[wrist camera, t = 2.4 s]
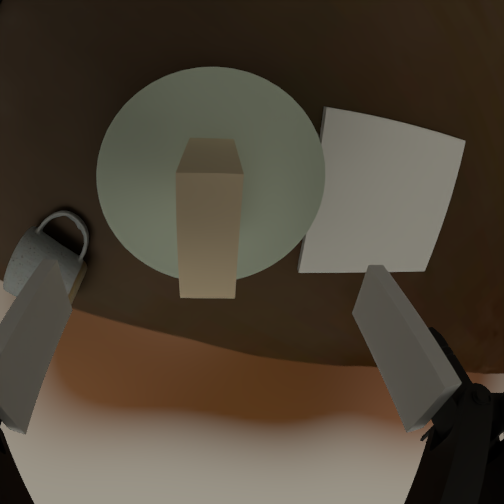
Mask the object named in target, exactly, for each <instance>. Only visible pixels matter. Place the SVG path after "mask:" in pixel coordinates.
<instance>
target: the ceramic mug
mask: <svg viewBox="0 0 504 504" xmlns="http://www.w3.org/2000/svg"><path fill="white" fill-rule="evenodd" d="M60 216H67V217H69V218H70V219H71V220H73V221H74V222H75V223H76V225H77V227H78V229H80V230H81V231H82V234H83V235H84V246H83V249H82V252H81V254H80V255H79V256H78V255H77V254H75V253H74V252H72V251H71V250H69V249H67V248H66V247H64V246H62V245H61V244H60V243H58V242H57V241H56V240H54V239H53V238H51V237H50V236H48V235H47V234H45V233H44V232H43V231H42V230H43V228H44V227H45V225H46V224H47V223H48V222H49V221H50V220H51V219H52V218H56V217H60ZM88 243H89V232H88V229H87V226H86V225H85V223H84V221H83V220H82V219H81V218H80V217H79V216H78V215H76V214H75V213H73V212H70V211H58V212H55V213H53V214H51V215H50V216H48V217H47V218H46V219H45V220H44V221H43V222H42V223H41V224H40V226H39V227H38V228H37V227H35V226H32V227H31V228H29V229H28V230H27V231H26V232H25V234H24V235H23V237H22V238H21V239H20V241H19V243H18V245H17V246H16V248H15V250H14V252H13V254H12V257H11V259H10V262H9V264H8V267H7V269H6V273H5V276H4V283H3V287H4V290H5V291H7V292H9V293H11V294H12V295H14V296H16V297H17V296H18V295H19V293H20V291H21V290H22V288H23V287H24V286H25V284H26V283H27V281H28V280H29V278H30V277H31V275H32V274H33V272H34V271H35V270H36V268H37V267H38V265H39V264H40V263H41V261H42V260H43V259H50V260H58V264H59V268H60V271H61V275H62V278H63V282H64V285H65V289H66V292H67V295H68V298H69V301H70V304H71V305H72V303H73V300H74V298H75V296H76V294H77V291H78V289H79V287H80V285H81V282H82V280H83V278H84V276H85V274H86V271H87V265H86V262H85V261H84V260H83V257H84V255H85V253H86V251H87V247H88Z"/></svg>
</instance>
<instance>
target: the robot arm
mask: <svg viewBox="0 0 504 504" xmlns="http://www.w3.org/2000/svg"><path fill="white" fill-rule="evenodd" d="M0 1H1V0H0ZM71 312H72V307H71V304H70V301H69V298H68V295H67V292H66V289H65V285H64V282H63V278H62V275H61V271H60V268H59V264H58V260H50V259H43V260H42V261H41V263H40V264H39V265H38V267H37V268H36V270H35V271H34V272H33V274H32V275H31V277H30V278H29V280H28V281H27V283H26V284H25V286H24V287H23V288H22V290H21V291H20V293H19V295H18V296H17V298H16V299H15V301H14V302H13V304H12V306H11V307H10V309H9V310H8V312H7V313H6V315H5V317H4V318H3V320H2V322H1V324H0V425H1V422H3V423H4V424H5V425H6V426H7V427H8V428H9V429H10V430H13V431H17V432H19V433H22V434H26V432H27V428H28V425H29V421H30V418H31V415H32V412H33V409H34V406H35V403H36V400H37V397H38V394H39V391H40V388H41V385H42V382H43V380H44V377H45V374H46V372H47V369H48V366H49V364H50V361H51V359H52V356H53V354H54V351H55V349H56V346H57V344H58V342H59V339H60V337H61V335H62V332H63V330H64V328H65V325H66V323H67V321H68V319H69V317H70V314H71ZM352 314H353V316H354V318H355V320H356V322H357V324H358V326H359V328H360V330H361V332H362V335H363V337H364V339H365V341H366V343H367V345H368V347H369V349H370V351H371V353H372V355H373V358H374V360H375V362H376V364H377V366H378V368H379V371H380V373H381V375H382V377H383V379H384V381H385V384H386V386H387V388H388V390H389V393H390V395H391V397H392V399H393V402H394V404H395V406H396V409H397V411H398V413H399V415H400V418H401V420H402V423H403V425H404V427H405V430H406V432H410V431H414V430H417V429H420V428H423V427H424V426H425V425H426V424H427V423H428V422H429V421H430V420H432V422H433V424H434V425H433V426H432V427H431V428H430V429H429V430H428V431H427V432H426V433H425V434H424V435H423V436H422V438H421V441H423V440H424V439H425V438H426V437H427V436H428V439H427V441H426V445H425V449H424V452H423V455H422V458H421V461H420V464H419V467H418V470H417V473H416V475H415V478H414V481H413V483H412V486H411V488H410V491H409V493H408V496H407V498H406V501H405V503H404V504H504V439H503V440H502V441H500V440H499V435H500V434H501V433H503V432H504V392H503V393H491V392H490V391H489V390H488V389H487V388H486V387H485V386H483V385H481V384H477V383H474V384H473V383H472V382H471V381H470V379H469V377H468V375H467V374H466V372H465V370H464V369H463V367H462V366H461V364H460V362H459V361H458V359H457V358H456V356H455V355H453V351H452V350H451V348H450V347H448V344H447V342H446V341H445V339H444V338H443V336H442V335H441V334H440V333H439V332H437V331H436V330H435V329H434V328H433V327H430V328H427V326H426V325H425V323H424V322H423V320H422V319H421V317H420V316H419V314H418V313H417V311H416V310H415V308H414V307H413V306H412V304H411V303H410V301H409V300H408V298H407V297H406V296H405V294H404V293H403V291H402V290H401V289H400V287H399V286H398V284H397V283H396V282H395V280H394V279H393V278H392V276H391V275H390V273H389V272H388V271H387V269H386V268H385V267H384V265H368V268H367V271H366V274H365V277H364V280H363V283H362V286H361V289H360V292H359V295H358V298H357V301H356V304H355V307H354V309H353V312H352ZM0 504H34V502H33V500H32V498H31V496H30V494H29V492H28V490H27V488H26V486H25V484H24V482H23V480H22V478H21V476H20V473H19V471H18V469H17V466H16V464H15V462H14V459H13V457H12V454H11V452H10V449H9V447H8V444H7V441H6V439H5V436H4V433H3V431H2V430H1V428H0Z"/></svg>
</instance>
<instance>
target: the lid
mask: <svg viewBox="0 0 504 504" xmlns="http://www.w3.org/2000/svg"><path fill="white" fill-rule="evenodd" d="M96 178H97V191H98V196H99V201H100V205H101V208H102V211H103V214H104V216H105V218H106V220H107V222H108V224H109V226H110V228H111V229H112V231H113V233H114V234H115V236H116V237H117V238H118V240H119V241H120V242H121V243H122V244H123V246H124V247H125V248H126V249H127V250H128V251H129V252H131V253H132V254H133V255H134V256H135V257H136V258H138V259H139V260H140V261H142V262H143V263H145V264H146V265H148V266H150V267H151V268H153V269H155V270H157V271H159V272H162V273H164V274H166V275H169V276H172V277H176V278H179V287H180V298H235V288H236V279H239V278H243V277H247V276H250V275H252V274H255V273H257V272H260V271H262V270H264V269H266V268H268V267H269V266H271V265H273V264H274V263H276V262H277V261H279V260H280V259H282V258H283V257H284V256H285V255H287V254H288V253H289V252H290V251H291V250H292V249H293V248H294V247H295V246H296V245H297V244H298V243H299V242H300V241H301V240H302V238H303V237H304V236H305V234H306V233H307V231H308V230H309V228H310V227H311V225H312V223H313V221H314V219H315V218H316V215H317V213H318V210H319V208H320V205H321V201H322V197H323V193H324V186H325V161H324V155H323V149H322V146H321V143H320V140H319V137H318V134H317V132H316V130H315V128H314V126H313V124H312V122H311V121H310V119H309V118H308V116H307V115H306V113H305V112H304V110H303V109H302V108H301V107H300V106H299V105H298V103H297V102H296V101H295V100H294V99H293V98H292V97H291V96H289V95H288V94H287V93H286V92H285V91H283V90H282V89H281V88H280V87H278V86H276V85H275V84H273V83H271V82H270V81H268V80H266V79H264V78H262V77H259V76H257V75H254V74H252V73H249V72H245V71H241V70H237V69H233V68H224V67H198V68H192V69H187V70H182V71H179V72H176V73H173V74H170V75H167V76H165V77H162V78H160V79H158V80H156V81H155V82H153V83H151V84H149V85H148V86H146V87H145V88H143V89H142V90H141V91H139V92H138V93H136V94H135V95H134V96H133V97H132V98H131V99H130V100H129V101H128V102H127V103H126V104H125V105H124V106H123V107H122V109H121V110H120V111H119V112H118V114H117V115H116V116H115V118H114V119H113V121H112V123H111V124H110V126H109V128H108V130H107V132H106V134H105V137H104V139H103V141H102V144H101V148H100V152H99V156H98V162H97V171H96Z"/></svg>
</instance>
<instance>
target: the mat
mask: <svg viewBox="0 0 504 504" xmlns="http://www.w3.org/2000/svg"><path fill="white" fill-rule="evenodd" d="M319 140H320V143H321V146H322V149H323V155H324V161H325V186H324V193H323V197H322V201H321V205H320V208H319V210H318V213H317V215H316V218H315V219H314V221H313V223H312V225H311V227H310V228H309V230H308V231H307V233H306V234H305V236H304V237H303V241H302V246H301V251H300V257H299V262H298V267H297V270H298V272H299V273H345V272H366V271H367V268H368V265H384V267H385V268H386V269H387V271H388V272H412V271H425V269H426V266H427V264H428V261H429V259H430V256H431V254H432V251H433V249H434V246H435V243H436V240H437V238H438V235H439V232H440V229H441V226H442V223H443V220H444V217H445V214H446V211H447V208H448V205H449V202H450V199H451V195H452V192H453V188H454V185H455V181H456V178H457V174H458V170H459V166H460V162H461V158H462V154H463V150H464V146H465V141H464V140H462V139H459V138H456V137H452V136H449V135H446V134H443V133H440V132H436V131H433V130H429V129H426V128H422V127H419V126H415V125H411V124H407V123H403V122H399V121H395V120H391V119H387V118H382V117H378V116H373V115H368V114H363V113H358V112H353V111H348V110H342V109H336V108H330V107H324V109H323V117H322V124H321V131H320V138H319Z"/></svg>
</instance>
